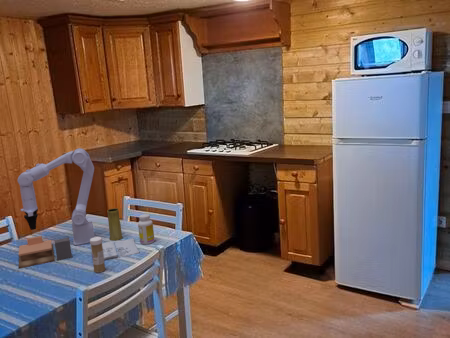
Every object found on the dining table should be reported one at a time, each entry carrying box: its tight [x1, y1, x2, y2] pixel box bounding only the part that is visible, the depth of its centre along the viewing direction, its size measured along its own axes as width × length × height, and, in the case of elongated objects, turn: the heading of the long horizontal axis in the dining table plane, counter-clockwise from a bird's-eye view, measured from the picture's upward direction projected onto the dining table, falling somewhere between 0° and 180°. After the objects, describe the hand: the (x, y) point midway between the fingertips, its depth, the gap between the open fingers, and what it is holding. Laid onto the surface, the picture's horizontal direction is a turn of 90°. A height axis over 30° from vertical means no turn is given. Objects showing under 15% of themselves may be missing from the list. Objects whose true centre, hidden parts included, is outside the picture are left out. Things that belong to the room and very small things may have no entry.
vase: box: [106, 207, 124, 242], centre depth 201 cm, size 6×6×14 cm
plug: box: [53, 237, 73, 262], centre depth 183 cm, size 6×4×8 cm, turn 114°
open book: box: [90, 238, 140, 261], centre depth 188 cm, size 19×20×2 cm
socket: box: [18, 243, 55, 269], centre depth 186 cm, size 14×20×3 cm
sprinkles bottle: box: [89, 236, 106, 274], centre depth 167 cm, size 5×5×14 cm
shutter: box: [18, 235, 52, 257], centre depth 185 cm, size 13×11×4 cm
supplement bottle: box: [137, 213, 155, 245], centre depth 194 cm, size 7×7×13 cm
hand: (33, 227), depth 194 cm, fingers open, 6 cm apart
